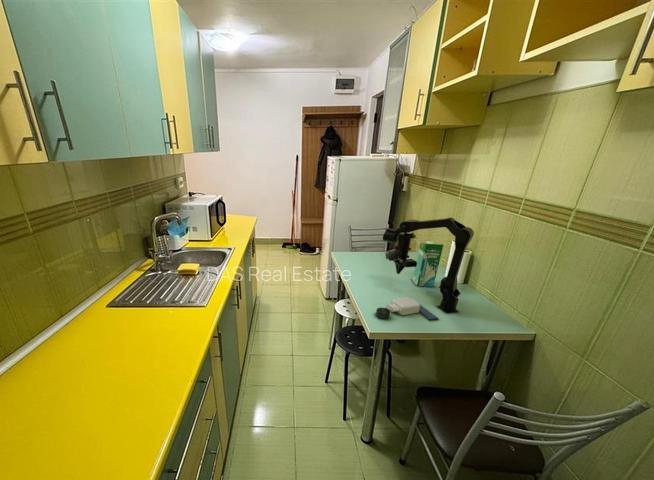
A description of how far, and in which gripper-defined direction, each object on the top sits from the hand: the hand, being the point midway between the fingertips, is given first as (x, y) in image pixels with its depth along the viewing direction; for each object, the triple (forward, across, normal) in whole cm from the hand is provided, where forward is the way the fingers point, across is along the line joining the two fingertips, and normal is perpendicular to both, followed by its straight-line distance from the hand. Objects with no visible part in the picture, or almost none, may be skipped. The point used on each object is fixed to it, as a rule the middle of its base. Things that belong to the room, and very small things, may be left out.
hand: (398, 273), depth 159 cm
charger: (+11, +19, -10) cm, 24 cm away
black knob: (+11, +22, -20) cm, 31 cm away
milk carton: (+11, -8, +23) cm, 27 cm away
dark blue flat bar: (+11, +22, +2) cm, 24 cm away
